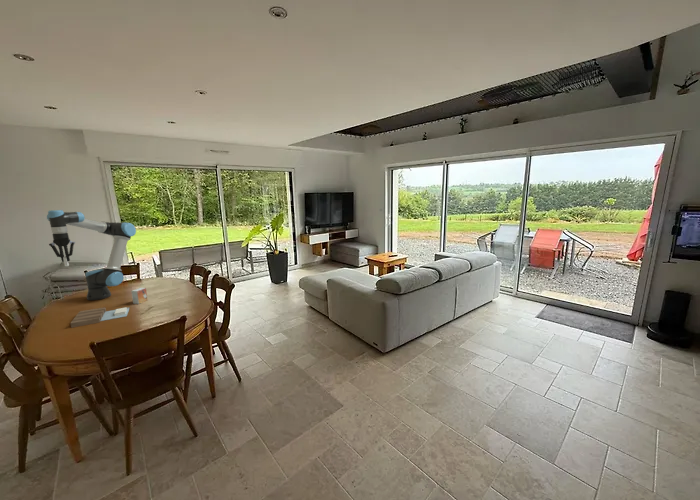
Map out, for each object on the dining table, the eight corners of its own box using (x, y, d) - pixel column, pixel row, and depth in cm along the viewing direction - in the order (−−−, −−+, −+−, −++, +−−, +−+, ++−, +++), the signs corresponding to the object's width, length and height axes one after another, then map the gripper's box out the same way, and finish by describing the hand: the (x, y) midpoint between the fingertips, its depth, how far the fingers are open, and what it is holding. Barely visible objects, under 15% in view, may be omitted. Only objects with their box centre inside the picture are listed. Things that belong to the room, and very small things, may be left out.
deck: (80, 315, 199) (79, 311, 198) (106, 311, 206) (105, 307, 206) (71, 327, 181) (70, 323, 180) (99, 322, 188) (99, 318, 187)
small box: (138, 304, 219) (136, 291, 217) (132, 303, 220) (130, 290, 218) (148, 300, 227) (146, 287, 225) (142, 299, 228) (140, 287, 226)
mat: (105, 311, 205) (105, 311, 205) (129, 307, 212) (129, 307, 212) (100, 321, 190) (100, 320, 190) (126, 316, 197) (126, 315, 197)
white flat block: (126, 307, 207) (127, 309, 207) (116, 309, 204) (116, 311, 204) (125, 311, 200) (125, 314, 200) (114, 313, 196) (114, 316, 197)
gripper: (44, 234, 187) (52, 268, 192) (71, 232, 194) (78, 265, 199) (48, 232, 194) (55, 266, 198) (74, 231, 200) (80, 263, 205)
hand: (66, 266), depth 198 cm, fingers closed
